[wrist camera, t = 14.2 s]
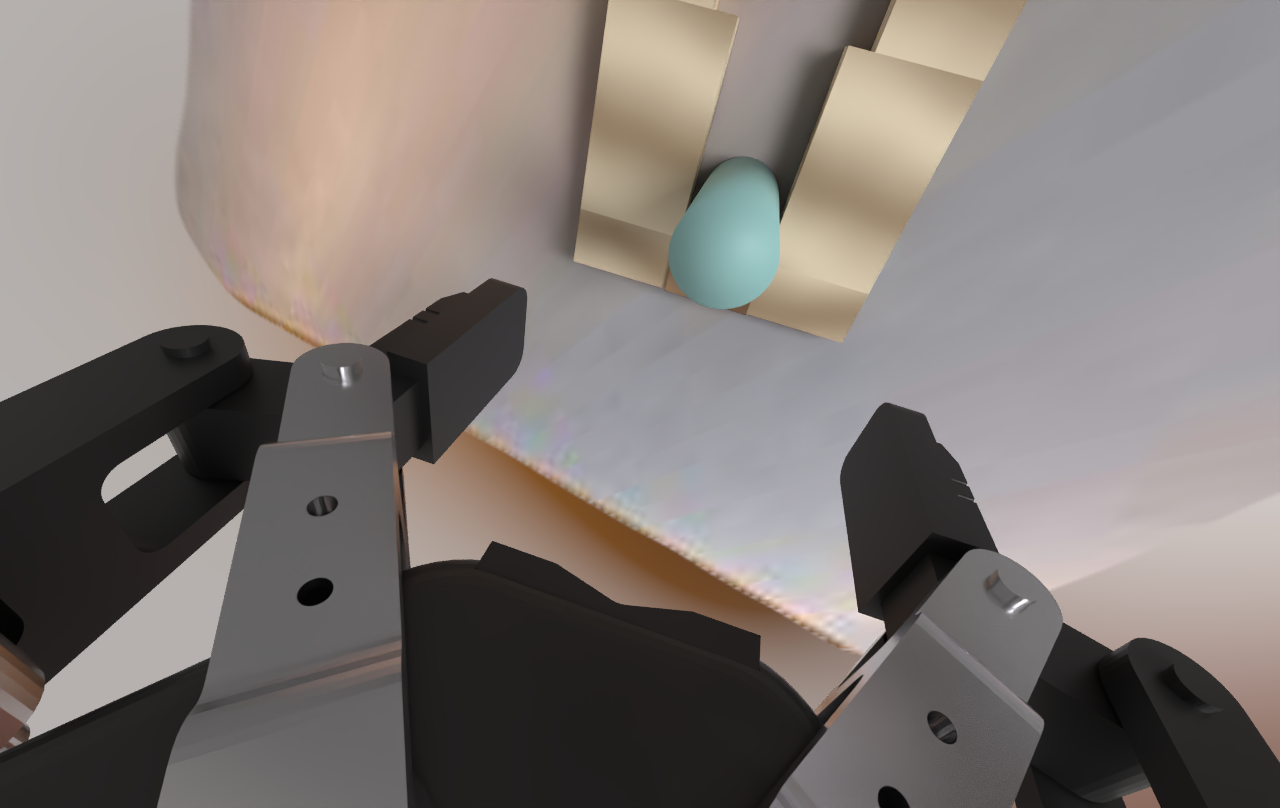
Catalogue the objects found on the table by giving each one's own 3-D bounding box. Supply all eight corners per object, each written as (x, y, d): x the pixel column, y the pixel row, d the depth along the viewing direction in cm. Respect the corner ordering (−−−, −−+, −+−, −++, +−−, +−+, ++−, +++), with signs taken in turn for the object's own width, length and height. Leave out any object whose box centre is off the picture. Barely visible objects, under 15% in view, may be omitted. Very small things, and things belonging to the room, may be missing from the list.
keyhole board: (673, -379, 16) (663, -421, 15) (1159, -275, 15) (1196, -309, 14) (581, 253, 29) (572, 262, 28) (839, 331, 28) (842, 344, 27)
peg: (791, 169, 24) (798, 217, 16) (762, 246, 27) (756, 321, 19) (714, 147, 24) (684, 184, 16) (693, 225, 27) (657, 291, 19)
